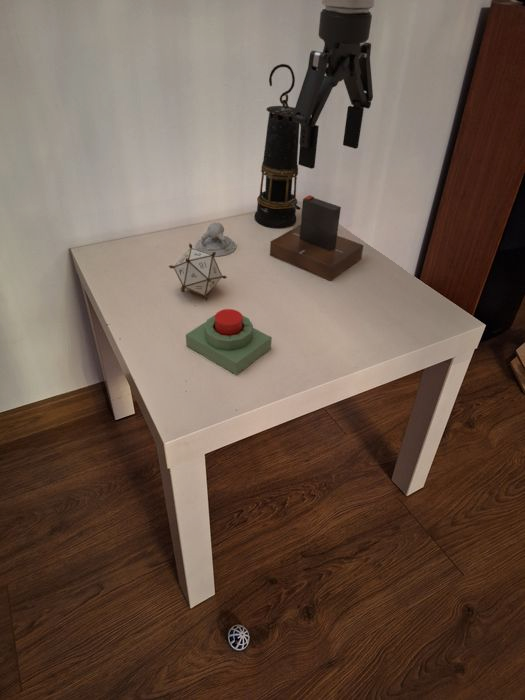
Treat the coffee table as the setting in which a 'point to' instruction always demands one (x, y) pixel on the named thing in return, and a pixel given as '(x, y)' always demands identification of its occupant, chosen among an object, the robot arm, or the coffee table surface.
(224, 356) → the button block
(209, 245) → the miniature
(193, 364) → the coffee table surface
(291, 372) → the coffee table surface
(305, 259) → the block
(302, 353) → the coffee table surface
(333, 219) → the dark grey block
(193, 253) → the game die
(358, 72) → the robot arm
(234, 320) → the button
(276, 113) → the lantern
